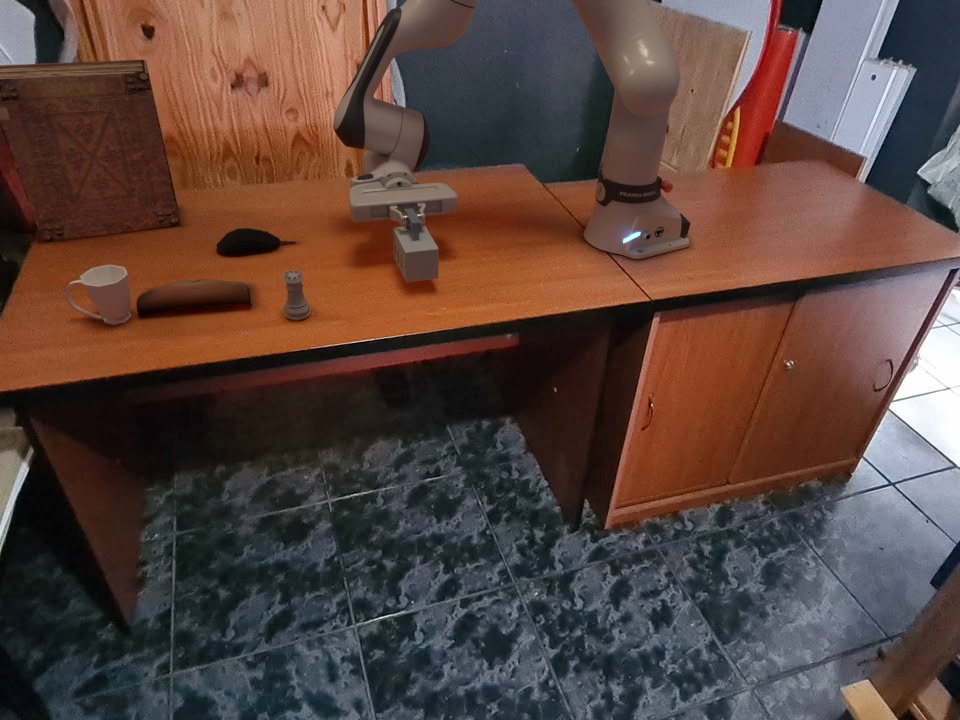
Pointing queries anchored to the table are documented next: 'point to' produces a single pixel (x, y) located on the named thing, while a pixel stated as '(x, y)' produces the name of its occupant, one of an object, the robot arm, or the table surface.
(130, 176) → the book
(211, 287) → the sunglasses case
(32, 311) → the table surface
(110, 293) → the cup
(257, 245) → the gaming mouse
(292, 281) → the rook chess piece
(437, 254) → the grey box with ridge
